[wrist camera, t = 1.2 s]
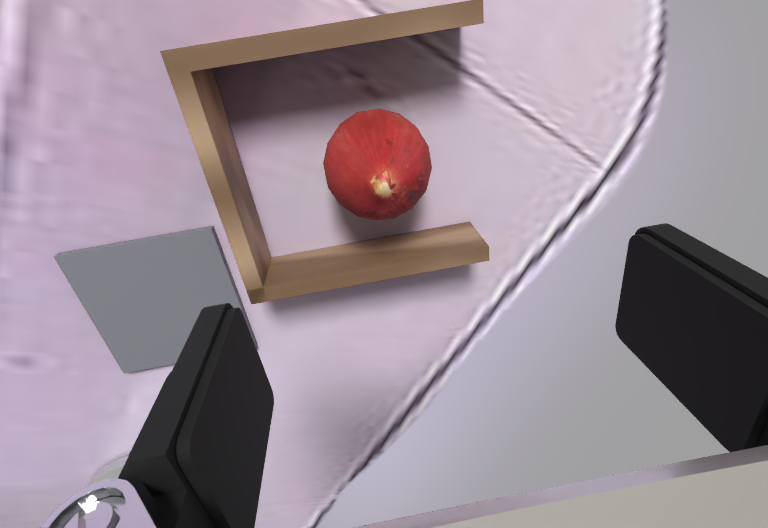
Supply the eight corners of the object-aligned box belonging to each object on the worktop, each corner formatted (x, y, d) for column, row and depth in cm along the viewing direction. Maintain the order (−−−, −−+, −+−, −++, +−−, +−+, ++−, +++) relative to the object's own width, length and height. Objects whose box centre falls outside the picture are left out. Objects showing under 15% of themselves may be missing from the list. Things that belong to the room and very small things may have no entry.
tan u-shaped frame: (470, 234, 29) (489, 260, 26) (260, 272, 29) (251, 304, 25) (459, 5, 23) (483, -2, 19) (186, 50, 22) (160, 51, 19)
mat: (257, 344, 32) (256, 348, 31) (126, 368, 31) (123, 373, 31) (212, 225, 27) (211, 228, 27) (58, 253, 27) (53, 256, 26)
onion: (435, 140, 26) (474, 175, 19) (381, 211, 28) (399, 267, 21) (360, 80, 24) (372, 95, 17) (307, 161, 26) (298, 206, 19)
